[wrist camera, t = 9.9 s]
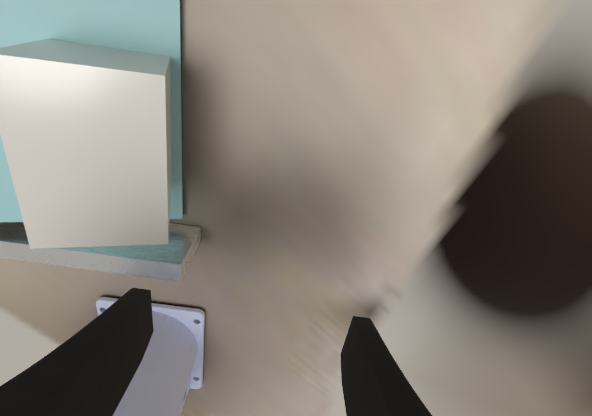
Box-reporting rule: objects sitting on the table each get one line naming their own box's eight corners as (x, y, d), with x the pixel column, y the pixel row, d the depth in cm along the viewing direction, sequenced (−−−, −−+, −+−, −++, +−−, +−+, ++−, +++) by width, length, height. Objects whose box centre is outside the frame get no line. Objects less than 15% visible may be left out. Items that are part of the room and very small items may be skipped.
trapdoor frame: (200, 243, 22) (176, 292, 18) (-60, 207, 21) (-150, 251, 17) (205, -55, 14) (165, -92, 10) (-199, -131, 14) (-429, -207, 9)
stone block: (171, 185, 19) (168, 244, 14) (72, 182, 18) (30, 248, 13) (170, 56, 16) (164, 75, 11) (48, 38, 14) (-22, 51, 9)
